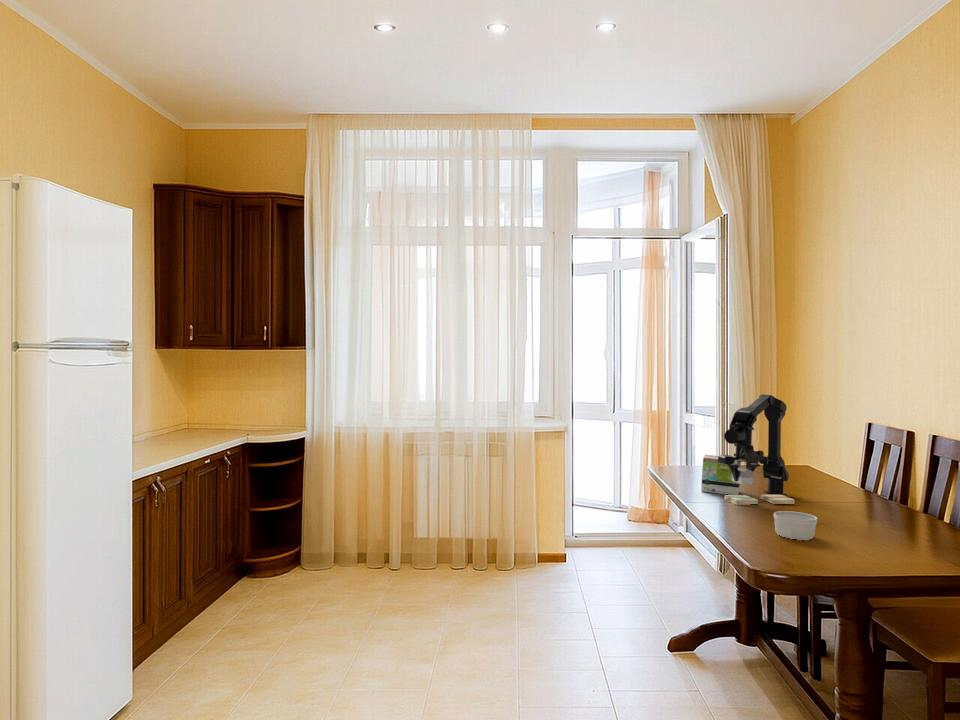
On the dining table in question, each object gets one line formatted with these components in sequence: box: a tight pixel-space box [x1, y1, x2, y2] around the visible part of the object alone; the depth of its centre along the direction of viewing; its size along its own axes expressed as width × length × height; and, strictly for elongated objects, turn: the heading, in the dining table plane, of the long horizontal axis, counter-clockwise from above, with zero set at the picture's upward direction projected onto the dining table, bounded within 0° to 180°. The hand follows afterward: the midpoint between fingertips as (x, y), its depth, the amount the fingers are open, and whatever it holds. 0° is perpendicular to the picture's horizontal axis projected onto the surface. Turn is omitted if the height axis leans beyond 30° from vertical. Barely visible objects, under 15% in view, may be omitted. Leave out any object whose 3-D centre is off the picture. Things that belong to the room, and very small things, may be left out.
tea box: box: [700, 454, 742, 495], centre depth 303 cm, size 15×10×15 cm
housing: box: [732, 467, 754, 485], centre depth 284 cm, size 7×5×5 cm
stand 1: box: [724, 494, 759, 506], centre depth 284 cm, size 9×9×2 cm
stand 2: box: [760, 494, 795, 505], centre depth 287 cm, size 9×9×2 cm
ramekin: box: [773, 510, 818, 541], centre depth 236 cm, size 13×13×7 cm
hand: (742, 481), depth 284 cm, fingers closed on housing, 5 cm apart
